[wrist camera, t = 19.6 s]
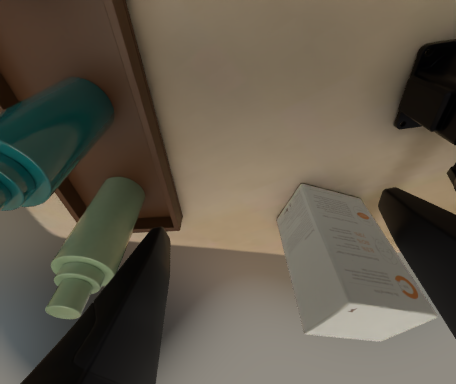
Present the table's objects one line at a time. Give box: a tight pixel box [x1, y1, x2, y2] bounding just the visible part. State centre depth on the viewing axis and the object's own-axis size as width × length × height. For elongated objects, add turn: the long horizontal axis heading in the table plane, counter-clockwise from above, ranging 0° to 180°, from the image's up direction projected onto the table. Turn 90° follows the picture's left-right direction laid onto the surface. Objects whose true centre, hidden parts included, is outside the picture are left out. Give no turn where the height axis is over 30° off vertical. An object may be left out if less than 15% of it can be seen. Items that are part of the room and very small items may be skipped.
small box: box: [277, 184, 438, 342], centre depth 23 cm, size 8×6×13 cm
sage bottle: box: [46, 177, 145, 319], centre depth 20 cm, size 5×5×12 cm
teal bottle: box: [0, 77, 114, 211], centre depth 14 cm, size 5×5×12 cm
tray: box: [0, 0, 183, 233], centre depth 18 cm, size 11×28×2 cm, turn 3°
